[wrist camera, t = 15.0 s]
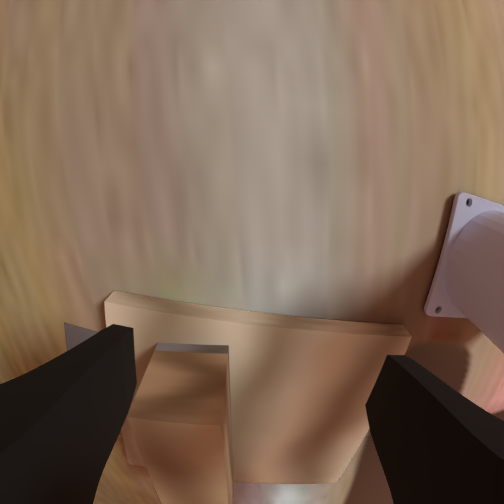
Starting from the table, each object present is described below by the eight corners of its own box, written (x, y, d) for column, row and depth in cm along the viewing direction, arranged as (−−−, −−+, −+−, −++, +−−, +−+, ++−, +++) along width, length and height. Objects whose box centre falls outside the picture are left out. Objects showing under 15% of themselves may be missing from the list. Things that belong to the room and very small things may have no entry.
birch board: (402, 324, 19) (412, 336, 17) (333, 469, 24) (336, 482, 22) (113, 290, 18) (104, 301, 16) (132, 451, 23) (128, 463, 21)
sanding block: (228, 345, 17) (221, 425, 12) (233, 465, 21) (231, 529, 15) (158, 342, 17) (127, 416, 12) (182, 462, 21) (172, 524, 15)
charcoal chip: (119, 332, 19) (115, 337, 19) (120, 377, 21) (118, 382, 20) (68, 318, 19) (64, 322, 19) (73, 363, 20) (70, 367, 20)
